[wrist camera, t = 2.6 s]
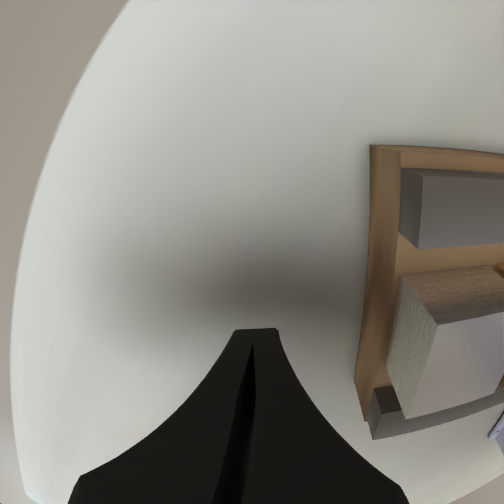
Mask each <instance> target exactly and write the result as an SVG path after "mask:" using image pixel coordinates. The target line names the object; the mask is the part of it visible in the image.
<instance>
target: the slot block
mask: <svg viewBox="0 0 504 504" xmlns="http://www.w3.org/2000/svg"><path fill="white" fill-rule="evenodd" d="M496 263H504V154H497V153H489V152H481V151H472V150H462V149H451V148H438V147H423V146H402V145H370V231H369V252H368V267H367V280H366V291H365V302H364V311H363V320H362V328H361V336H360V343H359V350H358V357H357V363H356V369H355V375H354V383H355V386H356V390H357V394H358V398H359V401H360V405H361V409H362V413H363V417H364V421H368V424H369V428H370V431H371V435H372V439H373V440H376V439H381V438H386V437H391V436H396V435H401V434H405V433H409V432H413V431H417V430H421V429H425V428H429V427H433V426H436V425H440V424H443V423H446V422H450V421H453V420H456V419H459V418H462V417H465V416H468V415H471V414H474V413H476V412H479V411H482V410H485V409H487V408H490V407H492V406H495V405H497V404H500V403H502V402H504V390H502V389H501V387H500V386H499V384H498V386H497V388H496V390H495V392H494V393H493V394H491V395H488V396H485V397H482V398H480V399H477V400H474V401H471V402H468V403H465V404H461V405H458V406H455V407H452V408H448V409H445V410H441V411H438V412H434V413H430V414H426V415H422V416H418V417H414V418H410V419H405V417H404V414H403V411H402V408H401V406H400V403H399V400H398V398H397V395H396V392H395V390H394V387H393V385H392V382H391V380H390V377H389V374H388V372H387V369H386V367H385V365H384V360H385V356H386V351H387V346H388V342H389V337H390V331H391V326H392V320H393V315H394V309H395V302H396V296H397V289H398V281H399V274H404V273H414V272H425V271H434V270H444V269H453V268H462V267H471V266H480V265H488V266H489V267H490V268H492V269H493V270H494V268H495V264H496Z"/></svg>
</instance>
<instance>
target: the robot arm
mask: <svg viewBox="0 0 504 504" xmlns="http://www.w3.org/2000/svg"><path fill="white" fill-rule="evenodd" d="M495 438H496V440H497V442H498V444H499V446H500V449H501V451H502V453H503V455H504V414H503V416H502V417H501V419H500V420H499V422H498V423H497V425H496V426H495V428H494V429H493V431H492V432H491V433H490V435H489V436H488V439H489V440H493V439H495ZM0 504H1V503H0ZM68 504H409V502H408V499H407V497H406V496H405V494H404V492H403V490H402V488H401V487H400V486H399V485H398V484H397V483H395V482H394V481H392V480H391V479H389V478H388V477H387V476H385V475H384V474H383V473H381V472H380V471H379V470H377V469H376V468H375V467H374V466H372V465H371V464H370V463H369V462H368V461H367V460H365V459H364V458H363V457H362V456H361V455H360V454H358V453H357V452H356V451H355V450H354V449H353V448H352V447H351V446H350V445H349V444H348V443H347V442H346V441H345V440H344V439H343V438H342V437H341V436H340V435H339V434H338V433H337V432H336V430H335V429H334V428H333V427H332V426H331V425H330V424H329V422H328V421H327V420H326V419H325V418H324V416H323V415H322V414H321V412H320V411H319V410H318V409H317V407H316V406H315V405H314V403H313V402H312V400H311V399H310V397H309V396H308V394H307V393H306V391H305V390H304V388H303V387H302V385H301V383H300V382H299V380H298V378H297V376H296V375H295V373H294V371H293V369H292V367H291V365H290V363H289V361H288V359H287V357H286V354H285V352H284V349H283V347H282V344H281V341H280V337H279V331H278V330H277V329H276V328H264V329H240V330H235V331H234V332H233V334H232V336H231V338H230V340H229V341H228V343H227V345H226V347H225V348H224V350H223V352H222V353H221V355H220V356H219V358H218V359H217V361H216V362H215V364H214V365H213V367H212V368H211V370H210V371H209V372H208V374H207V375H206V377H205V378H204V379H203V380H202V382H201V383H200V384H199V385H198V387H197V388H196V389H195V390H194V392H193V393H192V394H191V395H190V396H189V397H188V399H187V400H186V401H185V402H184V403H183V404H182V405H181V406H180V407H179V408H178V409H177V410H176V411H175V412H174V413H173V414H172V415H171V416H170V417H169V418H168V419H167V420H166V421H164V422H163V423H162V424H161V425H160V426H159V427H158V428H157V429H155V430H154V431H153V432H152V433H150V434H149V435H148V436H147V437H145V438H144V439H143V440H141V441H140V442H138V443H137V444H136V445H134V446H133V447H131V448H130V449H128V450H127V451H125V452H124V453H122V454H121V455H119V456H118V457H116V458H114V459H113V460H111V461H109V462H107V463H105V464H103V465H101V466H99V467H97V468H96V469H94V470H92V471H90V472H88V473H85V474H83V475H81V476H80V477H79V479H78V481H77V483H76V484H75V486H74V488H73V491H72V494H71V496H70V499H69V501H68Z"/></svg>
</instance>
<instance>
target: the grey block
mask: <svg viewBox="0 0 504 504" xmlns="http://www.w3.org/2000/svg"><path fill="white" fill-rule="evenodd" d="M384 365H385V367H386V369H387V372H388V374H389V377H390V380H391V382H392V385H393V387H394V390H395V392H396V395H397V398H398V400H399V403H400V406H401V408H402V411H403V414H404V417H405V419H410V418H414V417H418V416H422V415H426V414H430V413H434V412H438V411H441V410H445V409H448V408H452V407H455V406H458V405H461V404H465V403H468V402H471V401H474V400H477V399H480V398H482V397H485V396H488V395H491V394H493V393H494V392H495V390H496V388H497V386H498V384H499V382H500V380H501V378H502V376H503V374H504V278H502V277H501V276H500V275H499V274H498V273H497V272H495V271H494V270H493V269H492V268H490V267H489V266H488V265H480V266H471V267H462V268H453V269H444V270H434V271H425V272H414V273H404V274H399V281H398V289H397V296H396V302H395V309H394V315H393V320H392V326H391V331H390V337H389V342H388V346H387V351H386V356H385V360H384Z"/></svg>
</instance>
